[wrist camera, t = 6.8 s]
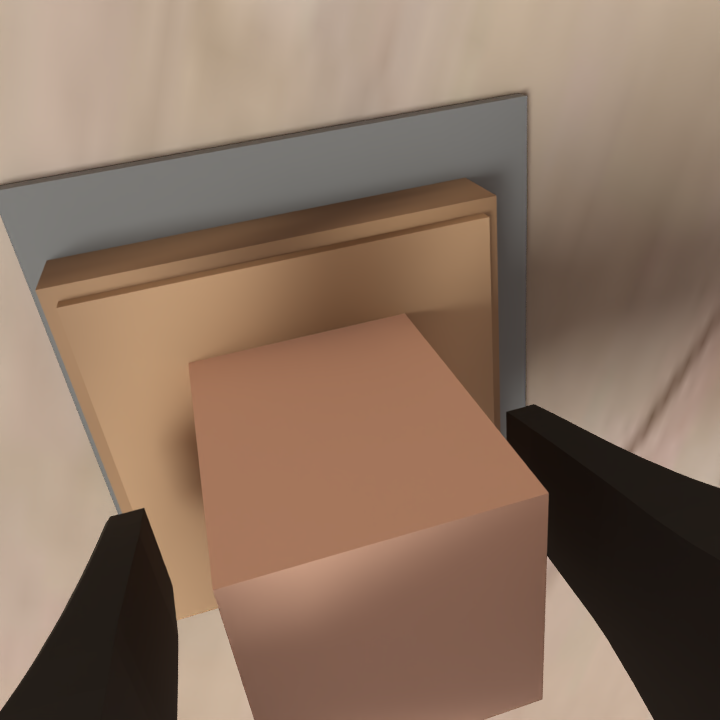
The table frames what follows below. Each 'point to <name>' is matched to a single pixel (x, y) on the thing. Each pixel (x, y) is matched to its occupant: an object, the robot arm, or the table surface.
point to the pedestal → (259, 328)
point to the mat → (291, 199)
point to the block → (368, 531)
